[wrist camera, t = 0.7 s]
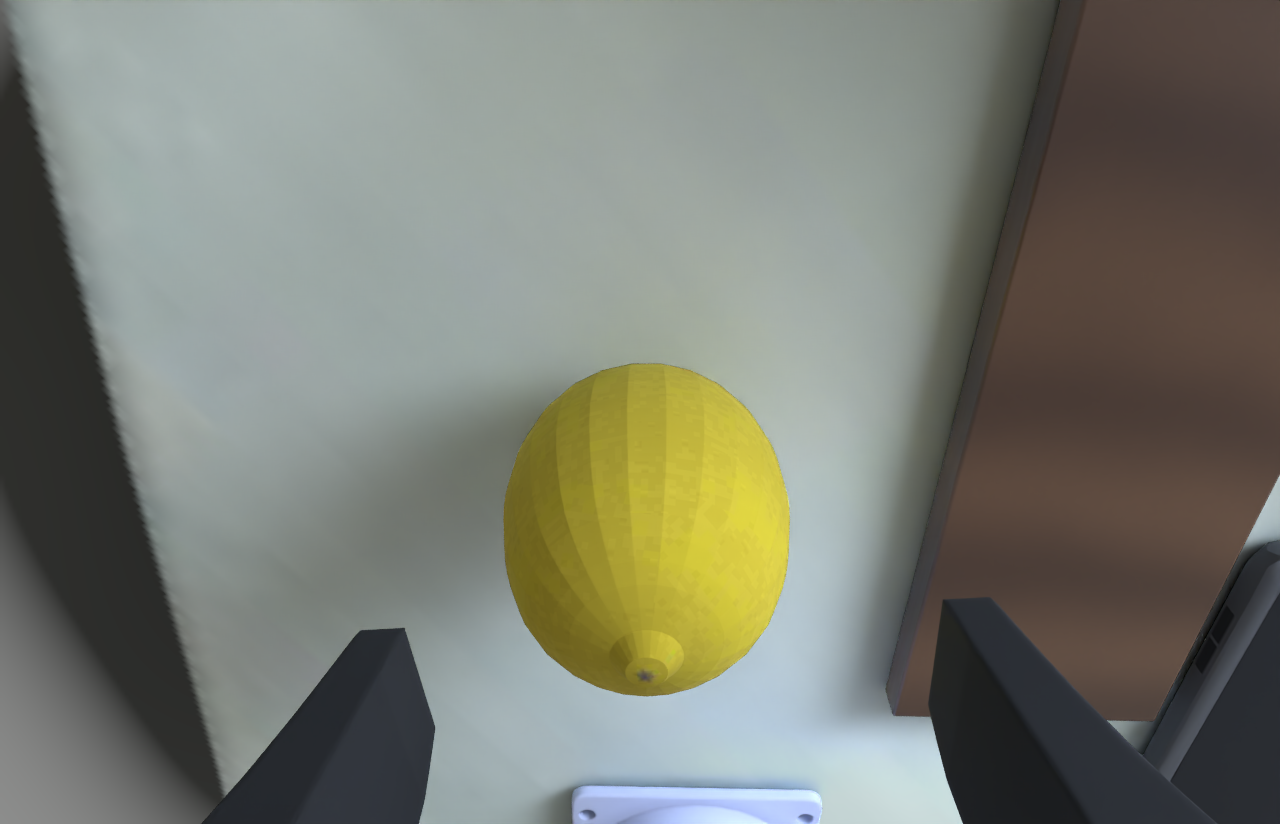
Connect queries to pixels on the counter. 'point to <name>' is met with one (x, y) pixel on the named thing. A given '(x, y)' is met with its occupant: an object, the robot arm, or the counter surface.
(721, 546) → the lemon
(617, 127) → the counter surface
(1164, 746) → the cell phone
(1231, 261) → the back board
